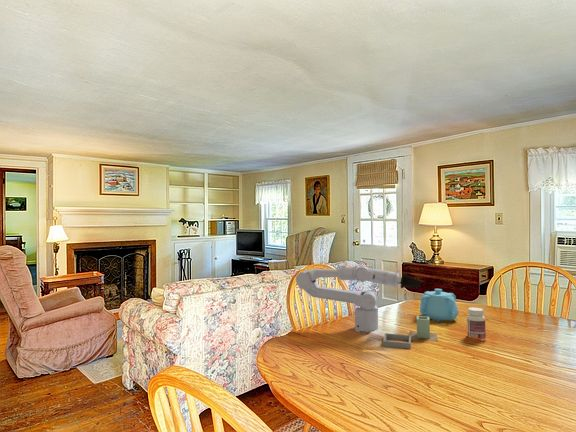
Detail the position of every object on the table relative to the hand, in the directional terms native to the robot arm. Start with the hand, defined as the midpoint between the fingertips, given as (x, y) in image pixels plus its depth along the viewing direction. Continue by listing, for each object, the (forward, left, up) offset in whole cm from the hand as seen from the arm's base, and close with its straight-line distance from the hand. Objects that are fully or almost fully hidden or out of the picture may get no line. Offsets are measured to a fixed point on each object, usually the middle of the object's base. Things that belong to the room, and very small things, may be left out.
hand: (419, 284), depth 145 cm
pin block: (+1, -5, -20) cm, 21 cm away
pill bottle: (+20, 0, -20) cm, 28 cm away
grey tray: (-8, -16, -20) cm, 27 cm away
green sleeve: (+1, -5, -19) cm, 20 cm away
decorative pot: (+8, +26, -20) cm, 33 cm away
